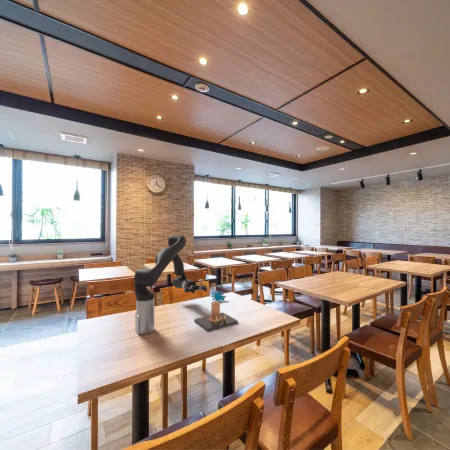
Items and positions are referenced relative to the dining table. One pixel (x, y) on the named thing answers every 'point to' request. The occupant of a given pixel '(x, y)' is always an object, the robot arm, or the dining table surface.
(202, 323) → the base plate
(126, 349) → the dining table surface
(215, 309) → the orange flanged cylinder
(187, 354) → the dining table surface
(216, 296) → the teal spiky virus model
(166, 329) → the dining table surface
